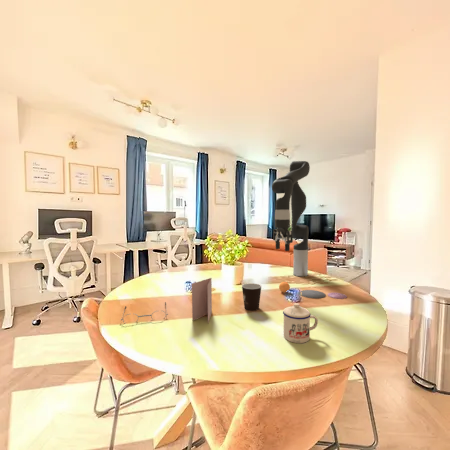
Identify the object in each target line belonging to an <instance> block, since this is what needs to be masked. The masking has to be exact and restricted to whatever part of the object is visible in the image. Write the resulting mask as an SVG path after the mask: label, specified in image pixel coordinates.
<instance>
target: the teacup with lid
mask: <svg viewBox="0 0 450 450" xmlns="http://www.w3.org/2000/svg"><path fill="white" fill-rule="evenodd" d="M282 314H283V337H284V339H285V340H286V341H289V342H292V343H294V344H304V343H306V342H309V340H310V338H311V334H310V333H311V331H313V330H315V329H316V328H317V327H318V324H319V320H318V318H317V317H316V316H315V315H313V314H311V312H310V310H308V309H307V308H305V307H302V306H300V303H298V302H295V303H293V305H291V306H287V307H285V308H284V309H283V311H282ZM311 319H314V324H313V325H312V326H311V325H310V324H311V321H310V320H311Z"/></svg>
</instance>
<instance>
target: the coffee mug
mask: <svg viewBox="0 0 450 450" xmlns="http://www.w3.org/2000/svg"><path fill="white" fill-rule="evenodd" d="M241 289H242V299H243V306H244V310H245V311H249V312H254V311H258V310H259V309H260V302H261V293H262V285H261V284H259V283H253V282H251V283H249V282H248V283H244V284H241Z"/></svg>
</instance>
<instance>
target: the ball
mask: <svg viewBox="0 0 450 450" xmlns="http://www.w3.org/2000/svg"><path fill="white" fill-rule="evenodd" d="M278 285H279V286H278V289H279V291H280V292H281V293H283V294H284V293H285V292H286V291H287V290H289V289H290V290H291V285H290V284H289V283H288V282H286V281H281V282H280V283H279V284H278ZM290 290H289V291H290ZM286 293H287V292H286ZM286 293H285V294H286Z"/></svg>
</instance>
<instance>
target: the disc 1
mask: <svg viewBox="0 0 450 450" xmlns="http://www.w3.org/2000/svg"><path fill="white" fill-rule="evenodd" d="M300 291H301V292H302V296H301V297H304V298H309V299H324V298H326V297H327V296H326V295H327V294H326V293H324V292H323V291H320V290H314V289H305V290H303V289H302V290H300Z"/></svg>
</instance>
